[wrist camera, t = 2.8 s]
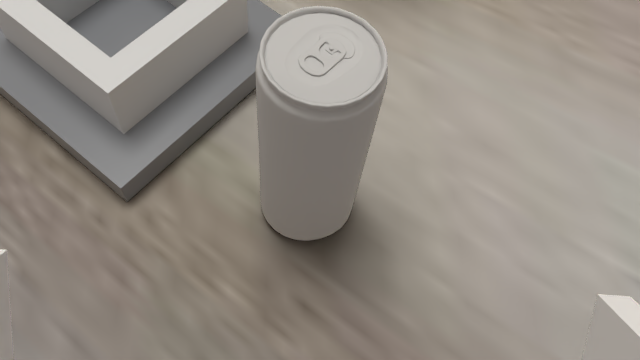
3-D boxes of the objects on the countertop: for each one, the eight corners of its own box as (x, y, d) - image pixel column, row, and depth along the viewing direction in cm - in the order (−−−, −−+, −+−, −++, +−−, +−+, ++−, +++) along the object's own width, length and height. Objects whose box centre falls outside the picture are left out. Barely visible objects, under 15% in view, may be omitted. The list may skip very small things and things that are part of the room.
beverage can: (369, 202, 32) (419, 53, 21) (309, 264, 30) (330, 135, 19) (303, 148, 33) (318, -18, 23) (240, 204, 31) (225, 52, 21)
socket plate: (301, 47, 36) (305, -16, 32) (127, 201, 31) (103, 151, 26) (141, -63, 40) (125, -133, 36) (-43, 57, 34) (-88, -8, 30)
